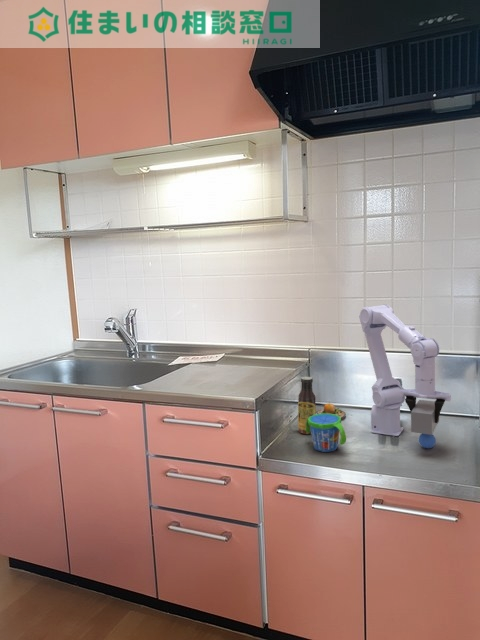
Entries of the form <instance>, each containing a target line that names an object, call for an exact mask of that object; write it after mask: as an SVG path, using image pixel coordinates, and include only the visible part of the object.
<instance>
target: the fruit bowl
mask: <svg viewBox="0 0 480 640" xmlns="http://www.w3.org/2000/svg"><path fill="white" fill-rule="evenodd" d="M322 413H328V414H335V415H338V416H339V417H340V418H341V420H342V421H344V420H345V419H346V417H347V416H346V412H345V411H344V410H342V409H340V408H339V407H337V408H336V406H335V404H333V403H330V401H329V402H328V403H326V404H325V405H324V406H323V409H320V410H317V411H316V414H322Z"/></svg>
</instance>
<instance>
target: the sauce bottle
mask: <svg viewBox="0 0 480 640" xmlns="http://www.w3.org/2000/svg"><path fill="white" fill-rule="evenodd" d="M313 381H314V380H313V377H312V376H301V378H300V382H301V390H300V391H299V392H300V393H299V394H298V400H297V401H298V402H297V428H298V433H300V434H303V435H312V434H311V432H310V433H306V430H305V428H306V421H307V419H308V418H309V417H310V416H312V415H315V414H316V412H317V411H316V410H317V409H316V408H317V407H316V406H317V404H316V395H315V393H314V392H313Z"/></svg>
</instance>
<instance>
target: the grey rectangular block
mask: <svg viewBox="0 0 480 640" xmlns="http://www.w3.org/2000/svg"><path fill="white" fill-rule="evenodd" d="M435 401H436V400H435ZM435 401H433V400H427V399H426V400H425V399H418V401H416V405H415V407H414V408H413V410H412V411H411V412H410V428H411V429H410V432H411V433H415V434H429V435H432V434H433V435H434V431H435V429H436V428H437V426H438V424H439V422H440V420H439V421H438V423H435Z"/></svg>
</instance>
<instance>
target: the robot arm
mask: <svg viewBox="0 0 480 640" xmlns="http://www.w3.org/2000/svg"><path fill="white" fill-rule="evenodd" d="M358 318H359V321H360V324H361V328H362V329H361V330H362V332H363V333H364V336H365V337H364V338H365V341H366V343H367V347H368V351H369V355H370V359H371V363H372V366H373V371H374V375H375V378H376V381H375V382H374V384H373V385H372V387H371V391H372V402H373V403H374V404H373V405H372V406H371V411H370V425H371V426H370V433H373V434H379V435H386V436H387V435H388V436H394V437H395V436H396V437H399V436H400V435H401V433H402V432H403V430H404V427H403V426H401V407H402V406H403V405H402V404H403V403H404V402H405V403H406V405H407V407H408V408H409V409H408V410H409V411H410V413H411V411H412V410H413V408H414V407H415V405H416V404H417V399H418V398H419V399H426V400H427V399H428V400H435V423H438V424H439V422H440V415H441V411H442V408H443V407H444V405H445V402H451V400H452V393H449V392H444V391H438V390H436V357H438V355H439V353H440V346H439V343H438V342H437V341H436V339H434V338H429V337H425V336H424V335H423V334H422V333H421V332H419V331H418V330H417V329H416V327H415V326H414V325H406V324H405V323H404V322H402V320H401V319H400V318H399V317H398V316H397V315H395V311H394V308H393V307H391V306H390V305H389V304H383V305H373V306H363V307H362V308H361V310H360V313H359V317H358ZM388 327H389V329H391V330H392V331H394V332H395V333H396V334H398V339H399V341H400V342H402V343H403V345H404V346H406V347H407V348H409V349H410V354H411V356H412V359H413V360H412V361H413V364H414V365H415V366H414V373H415V375H414V379H415V380H414V381H415V383H414V385H415V386H414V387H415V388H413V389H406V388H405V389H404V388H403V387H402V384H401V382H400V381H399V380H398V379H396V378H394V377H393V373H392V370H391V367H390V364H389V360H388V356H387V353H386V348H385V345H384V342H383V338H382V332H383V330H385V329H386V328H388ZM438 421H439V422H438Z"/></svg>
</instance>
